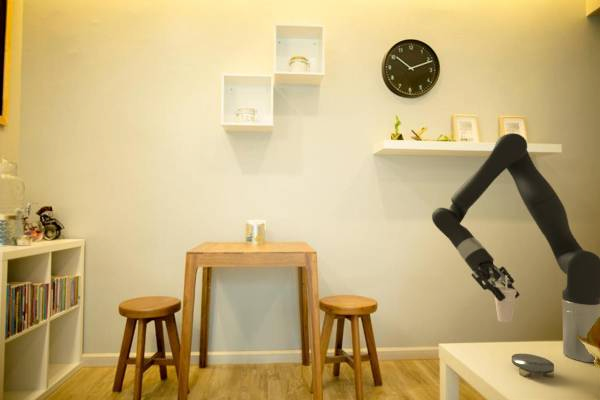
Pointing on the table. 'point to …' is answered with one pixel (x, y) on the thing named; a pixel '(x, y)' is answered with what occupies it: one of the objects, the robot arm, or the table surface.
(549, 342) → the table surface
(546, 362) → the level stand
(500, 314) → the smoothie
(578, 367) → the table surface
